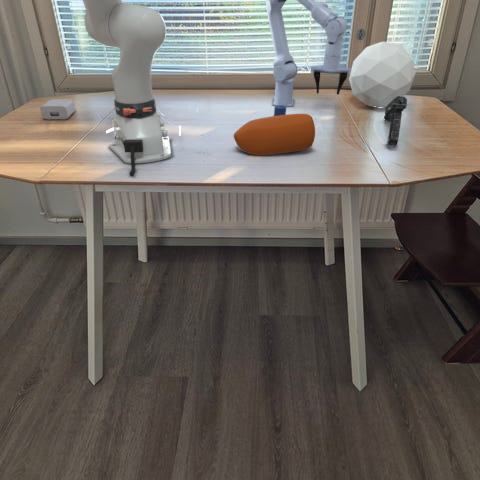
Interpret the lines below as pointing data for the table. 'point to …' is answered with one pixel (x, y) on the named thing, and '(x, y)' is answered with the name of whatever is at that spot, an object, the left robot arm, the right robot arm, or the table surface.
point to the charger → (57, 109)
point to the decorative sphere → (381, 74)
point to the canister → (279, 110)
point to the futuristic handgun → (395, 118)
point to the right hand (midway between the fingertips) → (327, 93)
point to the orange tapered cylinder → (276, 134)
